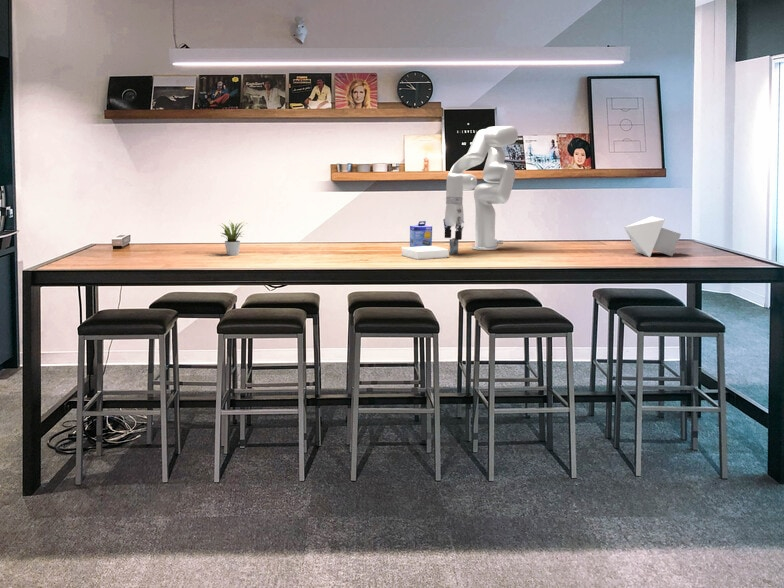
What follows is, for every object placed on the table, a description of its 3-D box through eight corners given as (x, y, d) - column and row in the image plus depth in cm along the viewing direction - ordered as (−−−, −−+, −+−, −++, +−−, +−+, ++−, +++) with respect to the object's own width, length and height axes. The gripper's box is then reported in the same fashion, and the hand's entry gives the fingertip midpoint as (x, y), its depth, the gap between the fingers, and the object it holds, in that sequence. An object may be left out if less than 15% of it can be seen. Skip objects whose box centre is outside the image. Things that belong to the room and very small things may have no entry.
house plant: (254, 252, 379) (253, 218, 376) (246, 256, 365) (245, 220, 362) (225, 252, 380) (224, 217, 377) (216, 256, 367) (214, 220, 364)
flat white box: (432, 253, 376) (432, 245, 375) (448, 257, 361) (448, 249, 361) (401, 255, 369) (401, 247, 368) (417, 259, 355) (417, 251, 354)
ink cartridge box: (414, 252, 380) (414, 221, 377) (408, 251, 385) (409, 220, 382) (432, 251, 384) (432, 220, 381) (427, 249, 389) (427, 220, 386)
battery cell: (455, 253, 374) (455, 237, 373) (459, 254, 371) (459, 238, 369) (448, 254, 372) (448, 238, 371) (452, 255, 369) (452, 238, 367)
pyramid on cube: (611, 243, 377) (625, 207, 375) (658, 259, 380) (672, 223, 377) (622, 248, 361) (637, 209, 358) (671, 264, 363) (686, 227, 360)
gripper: (471, 202, 361) (469, 240, 363) (452, 200, 376) (450, 237, 379) (456, 202, 358) (455, 240, 360) (438, 200, 373) (436, 237, 376)
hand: (452, 238), depth 369 cm, fingers open, 9 cm apart
